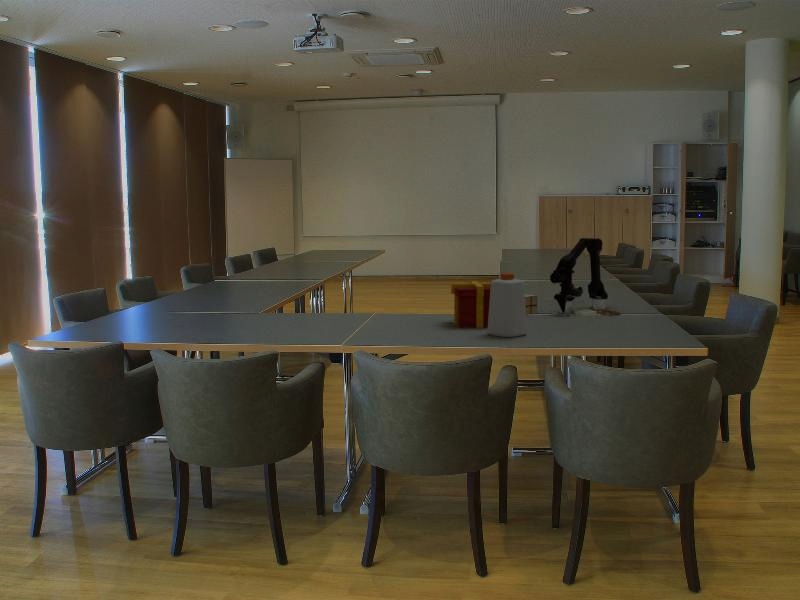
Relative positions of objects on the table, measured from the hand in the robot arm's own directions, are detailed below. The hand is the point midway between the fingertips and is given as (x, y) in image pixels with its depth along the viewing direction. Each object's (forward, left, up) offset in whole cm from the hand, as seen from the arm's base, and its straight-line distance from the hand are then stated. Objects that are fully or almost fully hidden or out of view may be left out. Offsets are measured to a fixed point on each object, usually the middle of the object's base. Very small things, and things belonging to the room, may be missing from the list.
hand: (565, 311), depth 419 cm
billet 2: (+5, +17, -1) cm, 18 cm away
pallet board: (+10, +17, -2) cm, 20 cm away
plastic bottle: (+38, -57, -2) cm, 69 cm away
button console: (+9, +6, -2) cm, 11 cm away
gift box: (+6, -56, -2) cm, 56 cm away
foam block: (-44, +32, -3) cm, 54 cm away
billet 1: (0, 0, -1) cm, 1 cm away
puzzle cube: (-14, -17, -2) cm, 22 cm away
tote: (0, 0, -2) cm, 2 cm away
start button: (+9, +6, -1) cm, 11 cm away
